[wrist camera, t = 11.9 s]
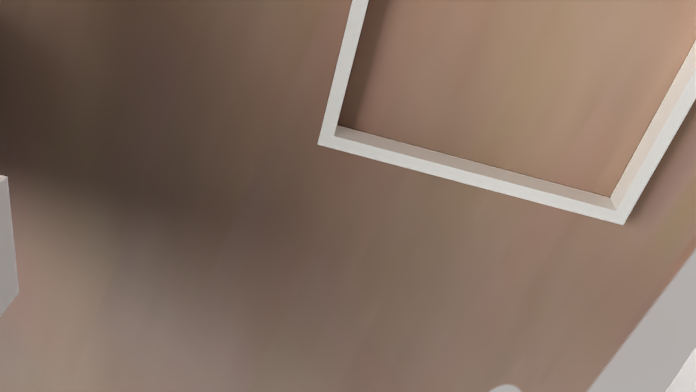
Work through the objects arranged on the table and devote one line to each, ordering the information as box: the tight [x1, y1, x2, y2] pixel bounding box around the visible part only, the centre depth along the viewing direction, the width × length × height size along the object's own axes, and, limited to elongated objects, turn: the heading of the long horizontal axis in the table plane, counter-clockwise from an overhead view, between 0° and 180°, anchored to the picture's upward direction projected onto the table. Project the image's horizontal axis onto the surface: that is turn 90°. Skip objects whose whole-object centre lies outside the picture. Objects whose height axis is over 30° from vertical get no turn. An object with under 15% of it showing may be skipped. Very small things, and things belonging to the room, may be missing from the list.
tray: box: [317, 0, 696, 225], centre depth 34 cm, size 19×17×2 cm
